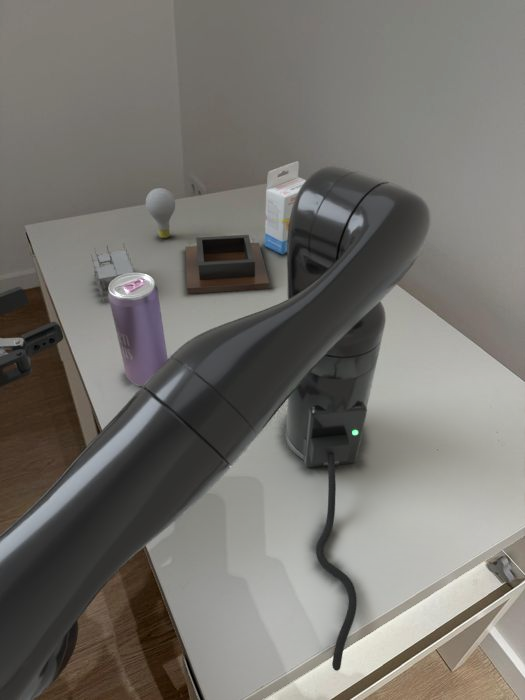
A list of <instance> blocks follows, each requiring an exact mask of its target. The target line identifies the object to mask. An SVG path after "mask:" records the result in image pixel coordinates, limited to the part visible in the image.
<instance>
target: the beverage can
mask: <svg viewBox="0 0 525 700" xmlns="http://www.w3.org/2000/svg"><path fill="white" fill-rule="evenodd" d="M107 288H108V289H107V290H108V295H107V296H108V301H109V305H110V310H111V314H112V320H113V323H114V327H115V332H116V337H117V342H118V345H119V350H120V355H121V358H122V359H121V360H122V363H123V368H124V373H125V377H126V378H127V380H128V381H129V382H131V383H132V384H134V385H136V386H138V387H143V385H144V384H145V383H146V382H147V381H148V380H149V379H150V378H151V376H152V375H153V374H154V373H155V372H156V371H157V370H158V369H159V368H160V367H161V366H162V365H163V364H164V363H165V362H166V361H167V360H168V359H169V357H168V350H167V344H166V337H165V330H164V324H163V318H162V317H163V316H162V310H161V303H160V297H159V290H158V287H157V285H156V281H155V279H154V278H153V277H152V276H151V275H149V274H146V273H143V272H134V273H127V274H123V275H120V276H118V277H116V278H115V279H114V278H112V280H110V283H109V284H108V287H107Z"/></svg>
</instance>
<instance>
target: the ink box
mask: <svg viewBox="0 0 525 700" xmlns="http://www.w3.org/2000/svg"><path fill="white" fill-rule="evenodd" d="M299 167H300V161H298V160H296V161H294V162H291V163H288V164H285V165H282V166H280V167H277V168H274V169H272V170H269V171H268V172H267V179H266V188H265V189H266V191H265V223H264V224H265V227H264V231H265V233H264V247H266V248H268V249H270V250H272V251H274V252H275V253H278V254H280V255H282V256H283V255H285V254H287V239H288V227H289V220H290V216H291V211H292V207H293V204H294V202H295V199H296V197H297V194H298V192H299V190H300V188H301V187H302V185H303V184H304V182H305V181H306V180H307V179H304V178H302V177H300V176H299ZM283 172H285V173H286V172H287V174H284V175H281V174H282V173H283ZM279 175H281V176H279Z"/></svg>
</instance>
